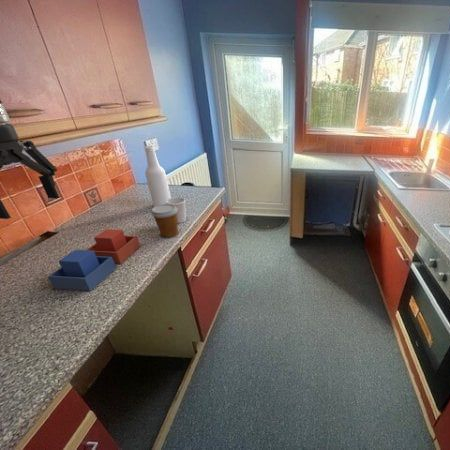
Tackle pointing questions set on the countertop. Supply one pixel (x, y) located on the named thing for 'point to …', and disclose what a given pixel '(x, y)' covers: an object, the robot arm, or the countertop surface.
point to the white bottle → (156, 178)
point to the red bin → (122, 252)
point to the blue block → (79, 263)
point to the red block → (110, 240)
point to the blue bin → (79, 283)
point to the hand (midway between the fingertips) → (31, 207)
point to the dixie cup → (178, 207)
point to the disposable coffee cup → (166, 219)
